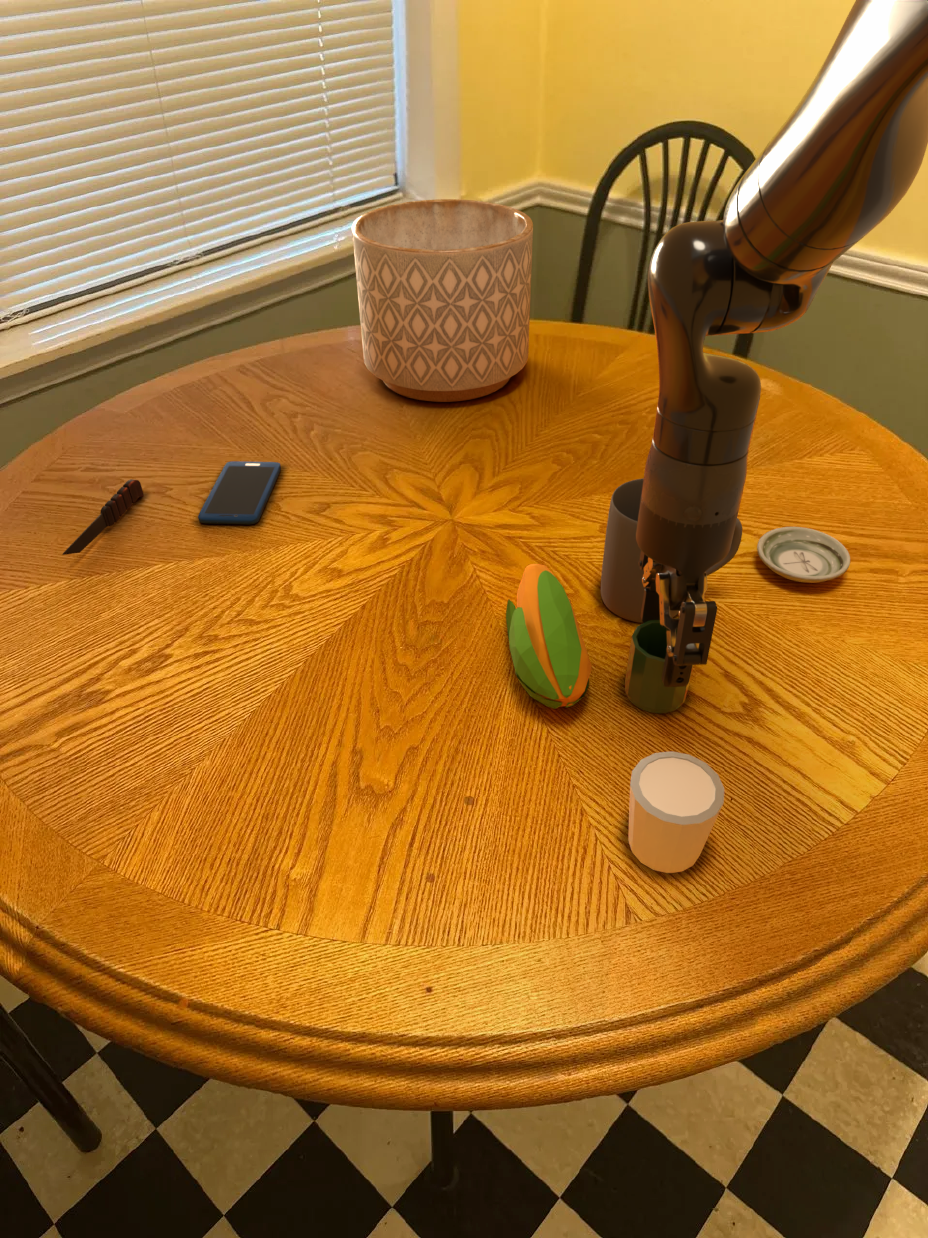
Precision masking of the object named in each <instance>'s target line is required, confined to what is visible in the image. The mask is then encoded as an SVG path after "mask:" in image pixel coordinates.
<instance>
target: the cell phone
mask: <svg viewBox="0 0 928 1238" xmlns="http://www.w3.org/2000/svg"><path fill="white" fill-rule="evenodd" d="M281 470H282V465H281V463H280V462H278V461H247V460H246V461H245V460H241V461H239V460H234V461H233V460H232V461H227V462H226V463H225V465H224V466H223V467H222V470H221V472H220V473H219V476H218V477H217V479H216V481H215V483H214V485H213V487H212V489H211V490H210V492H209V494H208V495H207V498H206V499H205V502H204V503H203V506H202V507H201V509H200V511H199V513H198V515H197V519H198V522H199V523H201V524H214V525H215V524H217V525H219V524H221V525H254V524H257V523H258V522H259V521H260V519H261V516H262V514H263V512H264V510H265V507H266V506H267V503H268V501H269V498H270V495H271V493H272V491H273V490H274V486H275V484H276V482H277V479H278V477H279V475H280V474H281Z"/></svg>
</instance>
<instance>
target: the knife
mask: <svg viewBox="0 0 928 1238" xmlns="http://www.w3.org/2000/svg"><path fill="white" fill-rule="evenodd" d="M141 483H142V482H141V481H140V480H139V479H132V478H131V479H128V480H127V481H126V482H125V483H124V484H123V485H122V486H121V487H120V488H119V489H118V490H117V491H116V493H115V494H113V495H112V497H111V498H110V499H109V500H107V502H105V504H104V505H103V506H102V507H101V508H100V514H99V515H98V516H97V517H96V518H95V519H94V520H93V521H92V522H91V523H90V524H89V526H87V527H86V529H84V531H82V533H81V534H80V535H79V536H78V537H77V538H76V539H75V540H73V542H72V543H71V544H70V545H69V546H68V547H67V548H66V550H64V551H63V553H62V554H61V555H62V556H66V555H72V554H73V555H74V554H79V553H81V552H82V551H83V550H84V549H86V547H88V546H89V545H90V544H91V543H92V542H93V541H94V540H95V539H96V538H97V537H99V535H100V534H102V532H104V531H105V530H106V529H107V528H108V527H112V526H114V525H115V524H116V523H117V522H118V521H119V520H120V519H121V517H122V516H124V515H125V513H126V512H127V511H128V510H129V509H130V508H131V507H132V506H133V504H135V503H136V502H137V500H138V499H140V498H143V497H144V490H143V487H142V484H141Z"/></svg>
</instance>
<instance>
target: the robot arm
mask: <svg viewBox="0 0 928 1238" xmlns="http://www.w3.org/2000/svg"><path fill="white" fill-rule="evenodd" d="M927 148H928V0H855V1H854V2H853V5H852V6H851V9H850V10H849V13H848V14H847V16H846V18H845V20H844V22H843V24H842V26H841V28H840V30H839V33H838V34H837V36H836V38H835V39H834V42H833V44H832V46H831V48H830V50H829V51H828V53H827V55H826V57H825V59H824V61H823V63H822V65H821V66H820V68H819V70H818V72H817V74H815V77H814V78H813V80H812V82H811V84H810V85H809V87H808V88H807V89H806V91H805V93H804V94H803V96H802V98H801V99H800V101H799V102H798V103H797V105H796V106H795V108H794V109H793V110H792V111H791V114H790V115H789V116H788V117H787V118H786V120H785V121H784V123H783V124H782V125H781V126H780V128H779V129H778V130H777V131H776V133H775V134H774V135H773V136H772V138H771V139H770V140H769V142H768V143H767V144H766V145H765V146H764V148H763V149H762V151H761V152H760V153H759V155H758V156H757V157H756V158H755V159H754V161H753V162H752V163H751V164H750V165H749V167H748V168H747V170H746V171H745V172H744V174H743V175H742V176H741V178H740V179H739V180H738V182H736V183H737V184H736V185H735V186H734V188H733V189H732V192H731V194H730V196H729V197H728V200H727V202H726V205H725V209H724V212H723V219H722V220H699V221H698V220H697V221H687V222H684V223H683V222H682V223H680V224H677V225H675V226H673V227H671V228H670V229H669V230H668V231H667V232H666V233H665V234H664V235H663V236H662V238H661V239H660V240H659V241H658V243H657V245H656V247H655V248H654V250H653V253H652V255H651V257H650V261H649V265H648V270H647V291H648V292H647V293H648V300H649V305H650V306H649V307H650V310H651V311H650V312H651V317H652V323H653V328H654V334H655V342H656V351H657V363H658V364H657V365H658V397H657V402H656V403H657V407H656V412H655V414H656V415H655V418H654V419H655V420H654V427H653V432H652V433H653V435H652V440H651V445H650V448H649V452H648V455H647V458H646V461H645V466H644V473H643V478H644V480H643V488H642V494H641V502H640V509H639V516H638V524H637V531H636V541H637V544H638V546H639V548H640V549H641V554H640V560H639V566H640V570H644V574H643V578H642V583H643V586H644V587H647V588H645V589H644V596H643V602H642V609H641V619H642V622H643V623H645V622H647V621H650V620H660V624H661V626H662V627H663V628H665V629H666V634H667V648H666V657H665V662H664V668H663V673H662V682H663V685H664V686H665V687H683V686H686V685H688V683H689V680H690V681H691V678H690V675H691V676H692V674H691V671H692V672H693V669H692V666H693V667H694V666H703V665H704V666H705V665H707V664H708V659H709V654H710V649H711V644H712V639H713V633H714V628H715V623H716V618H717V612H718V605H717V602H716V601H715V600H705V599H706V598H705V596H706V595H705V593H706V592H707V590H708V576H707V574H706V571H707V570H708V569H709V568H711V567H712V566H714V565H715V564H717V563H719V562H720V561H722V560H723V559H724V558H725V557H726V556H727V555H728V553H729V551H730V548H731V544H732V539H733V535H734V530H735V526H736V521H737V518H738V516H739V512H740V506H741V502H742V499H743V494H744V490H745V485H746V482H747V481H746V480H747V473H748V458H749V452H750V446H751V443H752V437H753V433H754V429H755V424H756V419H757V414H758V409H759V405H760V400H761V395H762V394H761V392H762V382H761V378H760V376H759V374H758V372H757V370H756V369H754V368H753V367H752V366H751V365H749V364H748V363H746V362H743V361H742V360H739V359H735V358H733V357H728V356H724V355H719V354H714V353H709V352H704V343H705V340H706V337H709V336H725V335H726V336H727V335H740V334H757V333H768V332H773V331H776V330H777V331H778V330H779V329H782V328H786V327H787V326H789V325H791V324H793V323H795V322H797V321H798V320H799V319H800V318H802V317H803V316H804V315H805V314H806V313H807V311H808V310H809V308H810V306H811V305H812V303H813V301H814V299H815V297H816V296H817V293H818V291H819V289H820V287H821V286H822V284H823V282H824V281H825V279H826V277H827V275H828V273H829V271H830V270H831V267H832V266H833V264H834V262H835V261H836V260H838V259H839V258H840V257H841V256H843V255H844V254H845V253H847V251H849V250H850V249H851V248H852V247H854V246H855V245H856V244H857V243H859V242H860V241H861V240H862V239H863V238H864V237H866V236H867V235H868V234H869V233H870V232H872V231H873V230H874V229H875V228H876V227H877V226H879V225H880V224H881V223H882V222H883V221H884V220H885V219H886V218H887V217H888V216H889V215H890V214H891V213H892V211H894V209H895V208H896V207H897V206H898V204H899V203H900V202H901V201H902V200H903V198H904V197H905V196H906V194H907V193H908V191H909V189H910V188H911V186H912V184H913V182H914V181H915V179H916V177H917V175H918V173H919V171H920V168H921V166H922V164H923V161H924V157H925V155H926V151H927ZM670 610H672V611H677V610H681V611H679V612H678V614H677V616H678V617H677V618H675V617H673V618H672V617H671V616H670ZM643 623H642V624H643ZM676 630H677V635H676ZM689 684H690V683H689Z"/></svg>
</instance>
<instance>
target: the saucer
mask: <svg viewBox="0 0 928 1238" xmlns="http://www.w3.org/2000/svg"><path fill="white" fill-rule="evenodd" d="M756 551H757V555H758V557H759V558H760V560H761V561H762V563H763V564H764V565H766V567H768V568H769V569H770V570H771V571H773V573H775V574H776V575H779V576H780V577H782V578H785V579H787V580H791V581H794V582H799V583H809V584H810V583H811V584H812V583H814V584H815V583H822V582H826V581H830V580H831V581H832V580H834V579H837V578H839V577H841V576H842V575H844V574H845V573H846V572H847V570H848V569H849V567H850V565H851V555H850V552H849V551H848V549H847V548H846V547H845V545H844V544H843V543H842V542H841V541H839V540H838V539H837V538H835V537H833V536H831V534H830V535H829V534H828V533H825V532H823V531H819V530H817V529H813V528H809V527H802V526H782V527H777V528H773V529H771V530H769V531H767V532H765V533H764V534H763V535H762V536H760V538H759V540H758V541H757V545H756Z"/></svg>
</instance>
